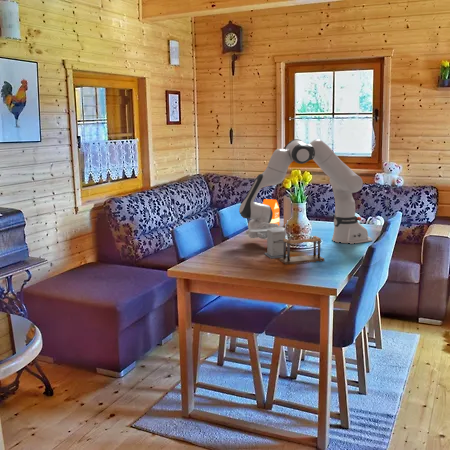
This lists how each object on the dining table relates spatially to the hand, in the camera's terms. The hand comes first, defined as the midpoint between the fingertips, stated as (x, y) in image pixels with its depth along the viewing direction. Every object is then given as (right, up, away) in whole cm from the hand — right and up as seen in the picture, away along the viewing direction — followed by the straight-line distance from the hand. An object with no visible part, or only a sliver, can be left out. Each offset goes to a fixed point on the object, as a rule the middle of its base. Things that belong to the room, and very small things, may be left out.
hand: (271, 235), depth 289 cm
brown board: (+14, -12, -16) cm, 24 cm away
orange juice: (+4, +1, +55) cm, 55 cm away
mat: (+2, -10, -5) cm, 12 cm away
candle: (+21, +5, +70) cm, 73 cm away
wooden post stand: (+13, -11, -16) cm, 24 cm away
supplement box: (+2, -10, -5) cm, 11 cm away
